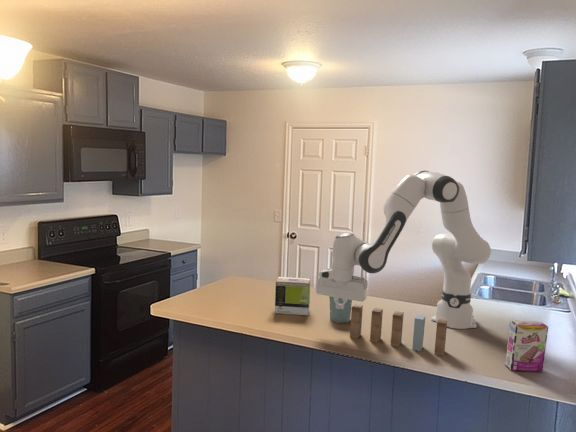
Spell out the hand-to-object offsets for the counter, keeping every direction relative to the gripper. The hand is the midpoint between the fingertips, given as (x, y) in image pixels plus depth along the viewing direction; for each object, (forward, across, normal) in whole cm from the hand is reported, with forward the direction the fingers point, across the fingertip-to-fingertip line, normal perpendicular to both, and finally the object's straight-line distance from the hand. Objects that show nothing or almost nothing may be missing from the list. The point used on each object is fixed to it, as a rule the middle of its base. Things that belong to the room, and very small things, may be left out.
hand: (339, 308), depth 194 cm
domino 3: (+10, -23, 0) cm, 25 cm away
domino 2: (+10, -15, 0) cm, 18 cm away
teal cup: (+10, +5, -16) cm, 20 cm away
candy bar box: (+10, -67, 0) cm, 68 cm away
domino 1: (+10, -7, 0) cm, 12 cm away
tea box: (+10, +27, -15) cm, 33 cm away
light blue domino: (+10, -31, 0) cm, 33 cm away
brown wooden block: (+10, -39, 0) cm, 40 cm away
